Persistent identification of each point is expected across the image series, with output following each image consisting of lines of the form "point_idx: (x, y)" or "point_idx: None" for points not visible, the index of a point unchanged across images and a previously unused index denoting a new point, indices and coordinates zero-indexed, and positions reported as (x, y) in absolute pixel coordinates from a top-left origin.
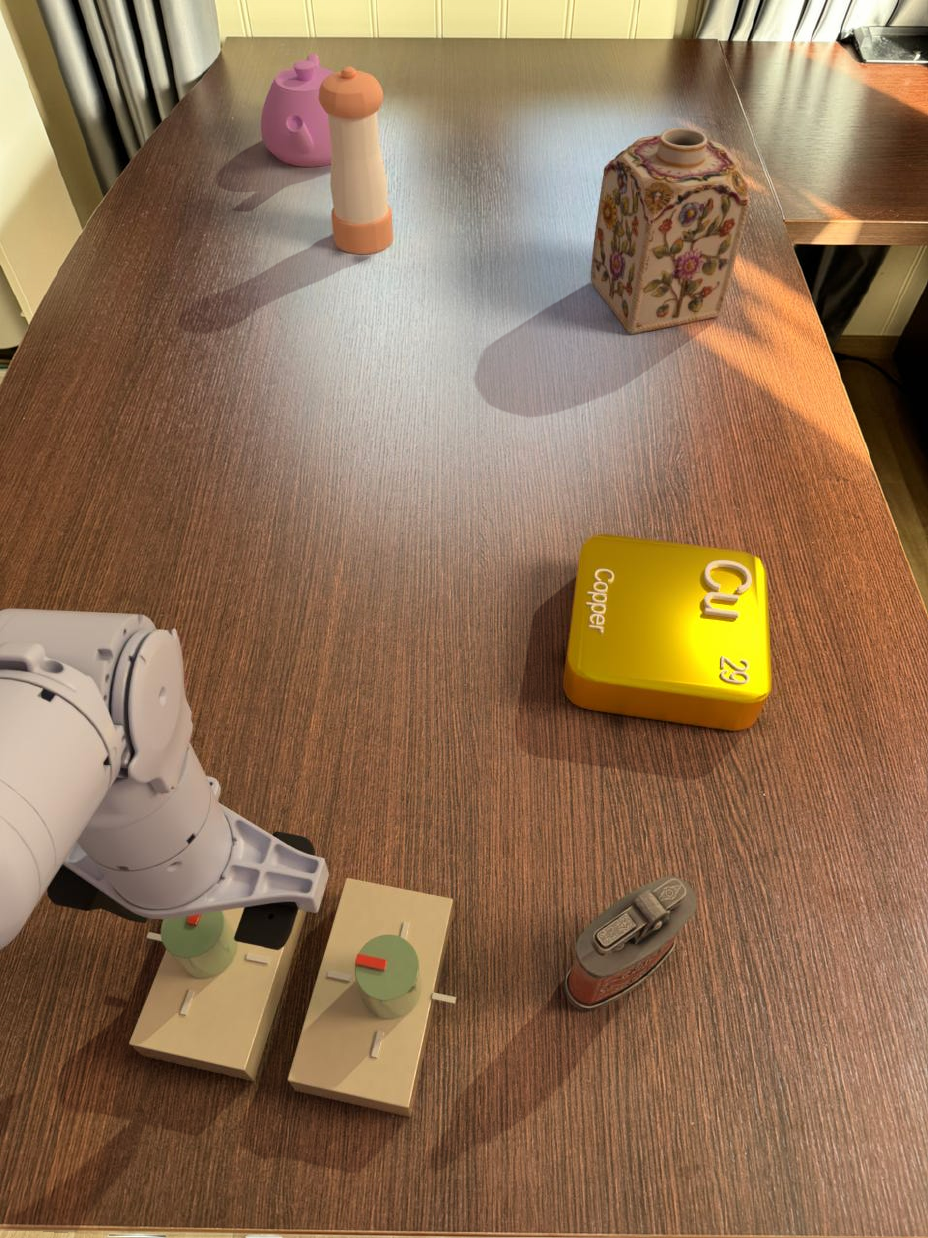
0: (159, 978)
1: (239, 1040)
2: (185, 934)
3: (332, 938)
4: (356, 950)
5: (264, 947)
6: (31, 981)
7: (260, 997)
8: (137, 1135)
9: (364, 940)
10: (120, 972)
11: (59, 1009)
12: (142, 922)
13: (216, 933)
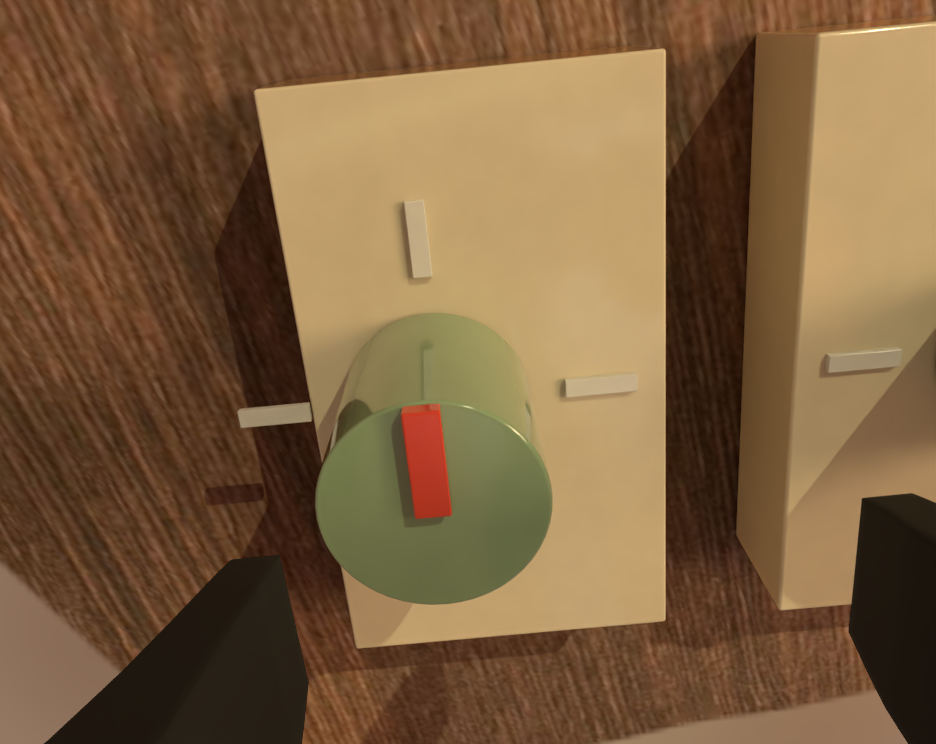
0: None
1: (629, 573)
2: (424, 540)
3: (814, 259)
4: (903, 273)
5: (880, 692)
6: (6, 511)
7: (644, 470)
8: (437, 680)
9: (924, 235)
10: (201, 433)
11: (118, 542)
12: (303, 721)
13: (535, 510)
